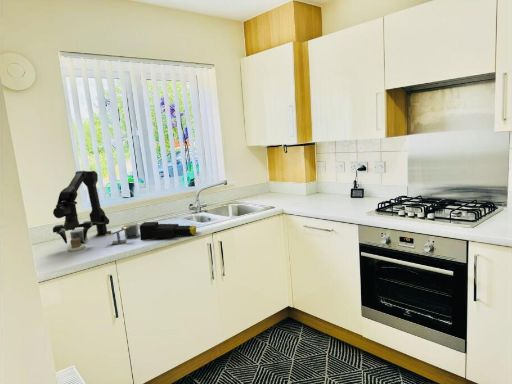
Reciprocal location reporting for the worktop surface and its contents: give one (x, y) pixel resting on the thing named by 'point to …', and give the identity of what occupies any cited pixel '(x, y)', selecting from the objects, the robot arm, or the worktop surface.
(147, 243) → the worktop surface
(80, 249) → the dish
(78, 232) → the cover
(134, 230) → the cover
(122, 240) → the balance
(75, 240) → the block
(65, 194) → the robot arm
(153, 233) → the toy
